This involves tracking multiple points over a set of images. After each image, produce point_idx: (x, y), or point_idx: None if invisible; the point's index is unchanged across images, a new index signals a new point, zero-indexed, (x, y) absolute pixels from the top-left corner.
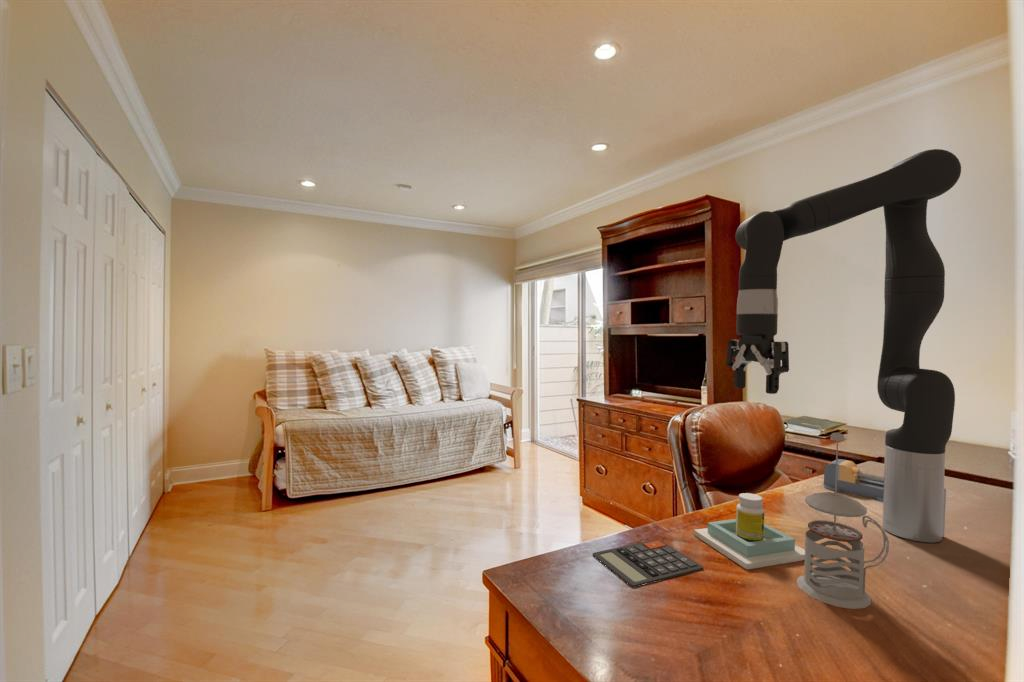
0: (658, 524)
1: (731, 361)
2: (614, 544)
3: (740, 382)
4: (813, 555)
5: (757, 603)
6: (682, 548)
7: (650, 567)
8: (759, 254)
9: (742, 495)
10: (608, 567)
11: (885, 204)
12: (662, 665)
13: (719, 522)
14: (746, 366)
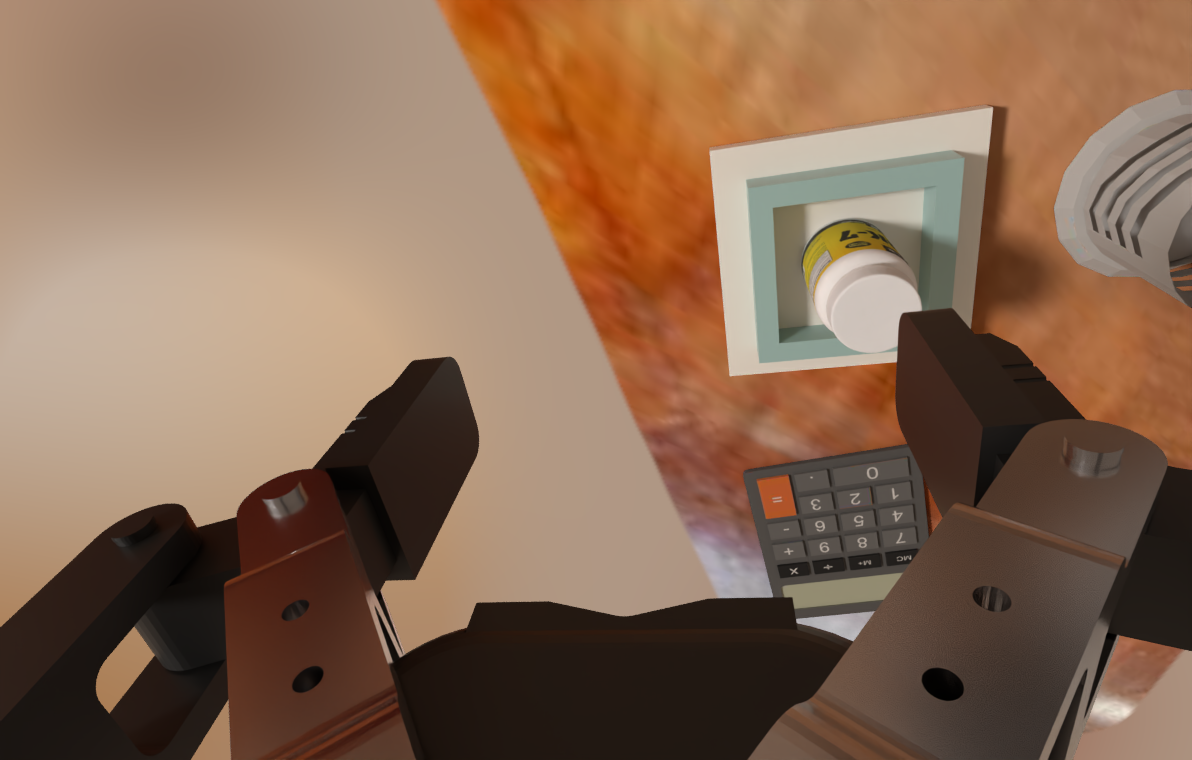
0: (643, 425)
1: (221, 681)
2: (740, 563)
3: (452, 444)
4: (1115, 212)
5: (1102, 417)
6: (800, 436)
7: (878, 548)
8: None
9: (855, 337)
10: (845, 611)
11: None
12: (1163, 648)
13: (768, 329)
14: (339, 507)
